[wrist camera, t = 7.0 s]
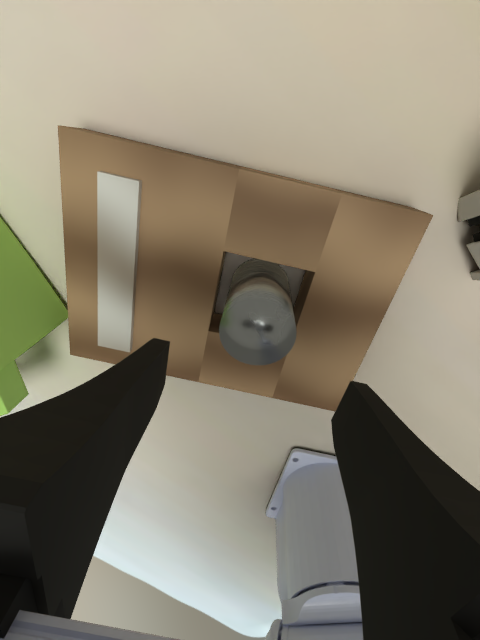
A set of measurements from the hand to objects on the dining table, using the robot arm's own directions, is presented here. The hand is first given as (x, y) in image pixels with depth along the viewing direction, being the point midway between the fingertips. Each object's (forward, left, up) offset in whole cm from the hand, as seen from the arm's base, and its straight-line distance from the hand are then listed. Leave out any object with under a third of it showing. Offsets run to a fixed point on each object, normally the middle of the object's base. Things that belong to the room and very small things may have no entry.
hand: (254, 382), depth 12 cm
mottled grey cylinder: (0, 0, -9) cm, 9 cm away
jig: (0, +2, -9) cm, 10 cm away
